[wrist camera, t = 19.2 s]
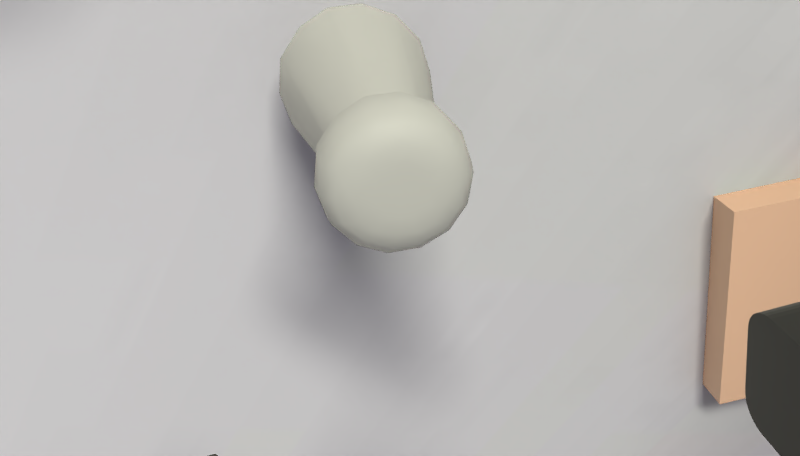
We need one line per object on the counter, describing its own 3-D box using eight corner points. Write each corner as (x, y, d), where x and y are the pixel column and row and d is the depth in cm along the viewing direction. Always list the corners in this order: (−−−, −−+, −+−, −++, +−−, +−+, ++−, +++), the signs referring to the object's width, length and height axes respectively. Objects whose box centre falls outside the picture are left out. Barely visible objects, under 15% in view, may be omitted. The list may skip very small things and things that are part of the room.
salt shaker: (290, 141, 31) (303, 304, 20) (265, 4, 29) (265, 102, 17) (423, 121, 32) (512, 269, 20) (412, -15, 29) (506, 67, 18)
